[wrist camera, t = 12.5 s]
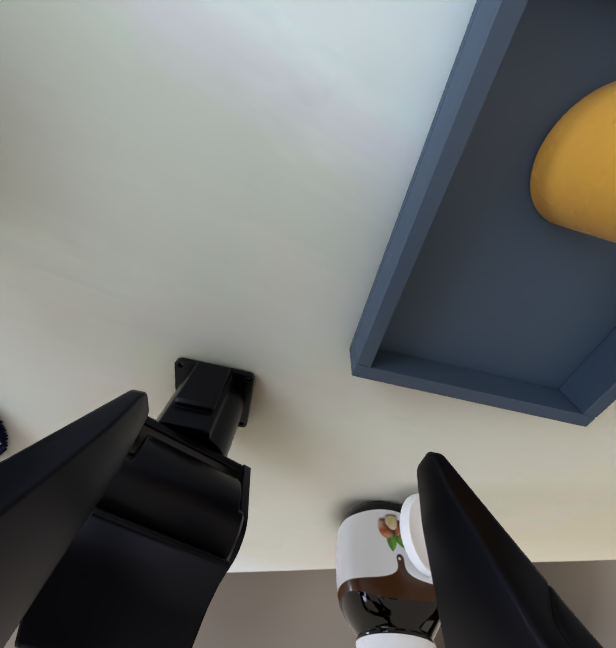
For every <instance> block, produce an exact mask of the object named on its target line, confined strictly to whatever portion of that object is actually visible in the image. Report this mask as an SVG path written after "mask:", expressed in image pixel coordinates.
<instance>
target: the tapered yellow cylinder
mask: <svg viewBox="0 0 616 648" xmlns="http://www.w3.org/2000/svg"><path fill="white" fill-rule="evenodd" d="M530 192H531V198H532V201H533V204H534V206H535V208H536V210H537V211H538V212H539V214H540V215H541V216H542V217H543V218H544V219H546V220H547V221H549V222H551V223H552V224H555V225H558V226H561V227H564V228H568V229H571V230H574V231H578V232H581V233H584V234H588V235H591V236H594V237H598V238H601V239H604V240H608V241H611V242H614V243H616V81H614V82H611V83H609V84H606V85H604V86H602V87H600V88H599V89H597V90H595V91H593V92H592V93H590V94H589V95H587V96H586V97H584V98H583V99H581V100H580V101H579V102H578V103H576V104H575V105H574V106H573V107H572V108H571V109H569V110H568V111H567V112H566V113H565V114H564V115H563V116H562V117H561V119H560V120H559V121H558V122H557V123H556V124H555V125H554V127H553V128H552V129H551V131H550V132H549V134H548V135H547V137H546V138H545V140H544V142H543V143H542V145H541V147H540V149H539V151H538V153H537V156H536V158H535V161H534V164H533V168H532V172H531V178H530Z"/></svg>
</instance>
